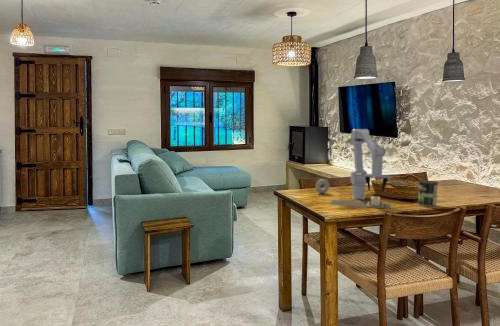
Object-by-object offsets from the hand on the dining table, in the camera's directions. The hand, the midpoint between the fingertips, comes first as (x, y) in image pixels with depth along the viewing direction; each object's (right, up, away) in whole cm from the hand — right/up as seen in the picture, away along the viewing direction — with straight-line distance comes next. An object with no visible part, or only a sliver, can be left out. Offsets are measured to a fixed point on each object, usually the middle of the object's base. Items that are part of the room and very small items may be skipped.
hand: (375, 190), depth 247 cm
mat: (-8, -9, +4) cm, 13 cm away
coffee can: (+32, -9, +5) cm, 34 cm away
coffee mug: (+20, -6, +28) cm, 35 cm away
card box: (0, -9, +1) cm, 9 cm away
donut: (-25, -5, +37) cm, 45 cm away
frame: (0, -9, +1) cm, 9 cm away
